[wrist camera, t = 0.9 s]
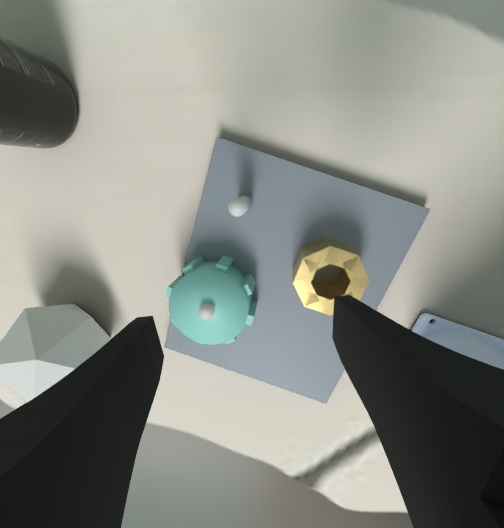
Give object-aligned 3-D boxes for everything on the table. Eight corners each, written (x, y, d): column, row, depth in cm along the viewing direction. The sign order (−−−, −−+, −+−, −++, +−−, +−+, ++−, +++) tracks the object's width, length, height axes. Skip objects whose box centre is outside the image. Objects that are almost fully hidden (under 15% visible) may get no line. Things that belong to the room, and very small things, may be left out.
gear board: (424, 207, 22) (461, 215, 17) (324, 396, 28) (332, 438, 23) (217, 137, 22) (199, 127, 17) (166, 340, 28) (143, 372, 24)
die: (35, 315, 30) (-12, 414, 24) (14, 273, 24) (-55, 395, 18) (116, 324, 33) (91, 416, 27) (117, 289, 26) (85, 400, 21)
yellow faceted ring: (366, 250, 22) (378, 262, 19) (340, 303, 24) (348, 322, 21) (307, 230, 22) (310, 239, 19) (286, 284, 24) (286, 300, 21)
